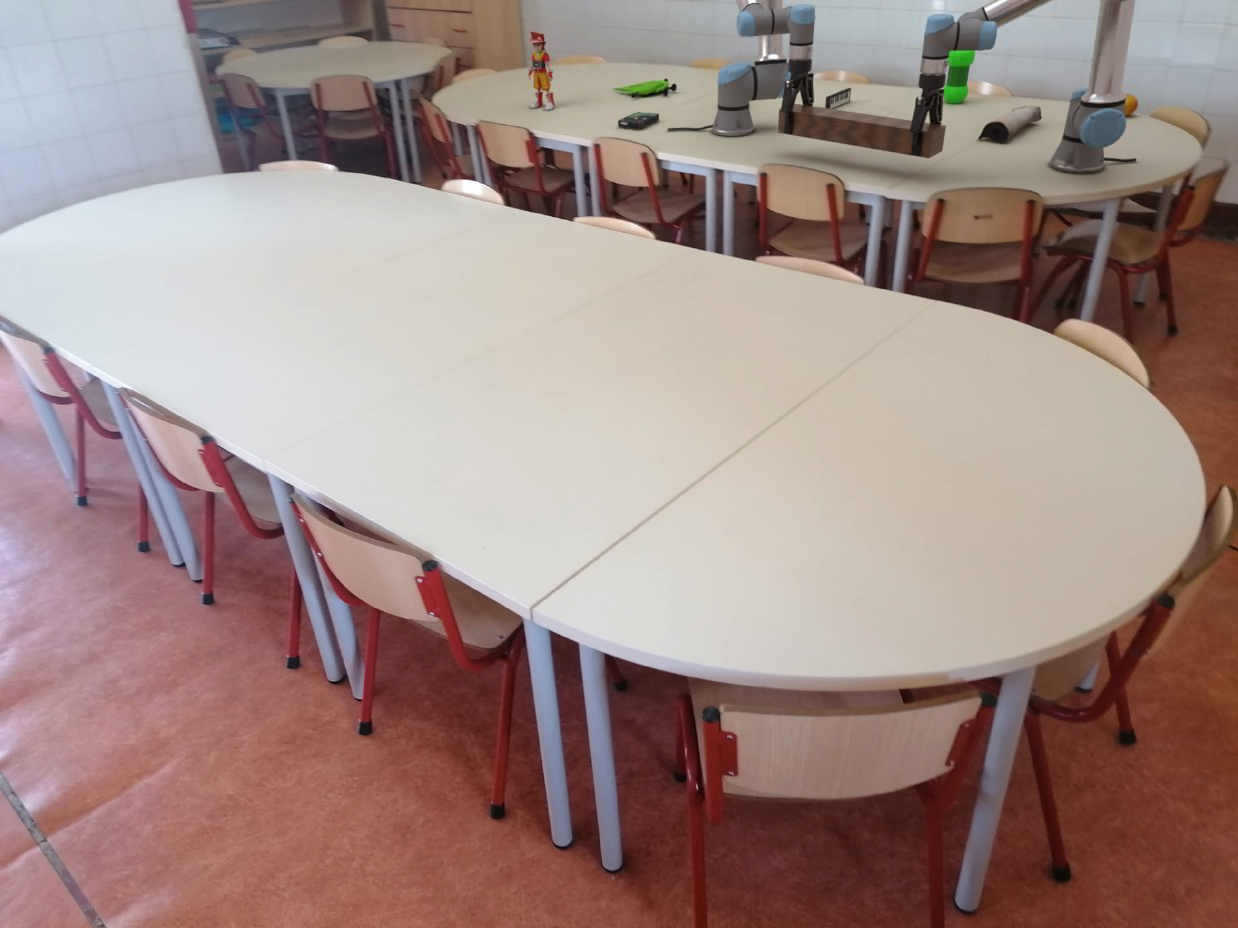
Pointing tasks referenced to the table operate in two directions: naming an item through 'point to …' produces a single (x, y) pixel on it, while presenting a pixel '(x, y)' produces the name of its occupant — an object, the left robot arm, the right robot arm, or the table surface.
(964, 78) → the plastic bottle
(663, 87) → the toy
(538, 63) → the toy
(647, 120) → the disk drive
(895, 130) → the thick board
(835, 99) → the midi keyboard
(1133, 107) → the fruit
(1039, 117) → the rolled mat
